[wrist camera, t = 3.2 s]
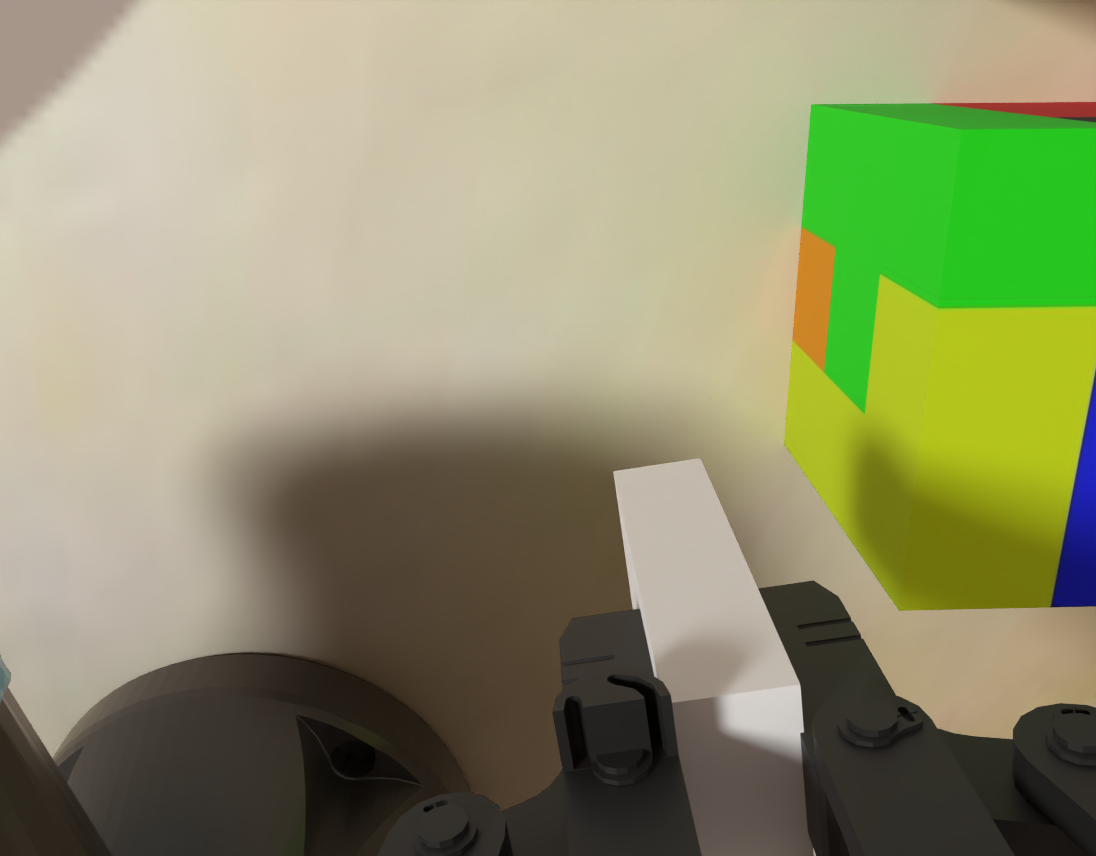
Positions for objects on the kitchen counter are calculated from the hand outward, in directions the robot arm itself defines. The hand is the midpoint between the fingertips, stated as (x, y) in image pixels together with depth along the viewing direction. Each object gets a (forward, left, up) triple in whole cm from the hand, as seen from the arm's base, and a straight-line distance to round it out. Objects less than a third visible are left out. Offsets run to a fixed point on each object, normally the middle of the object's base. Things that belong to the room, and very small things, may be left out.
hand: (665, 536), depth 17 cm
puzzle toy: (+11, 0, -13) cm, 17 cm away
